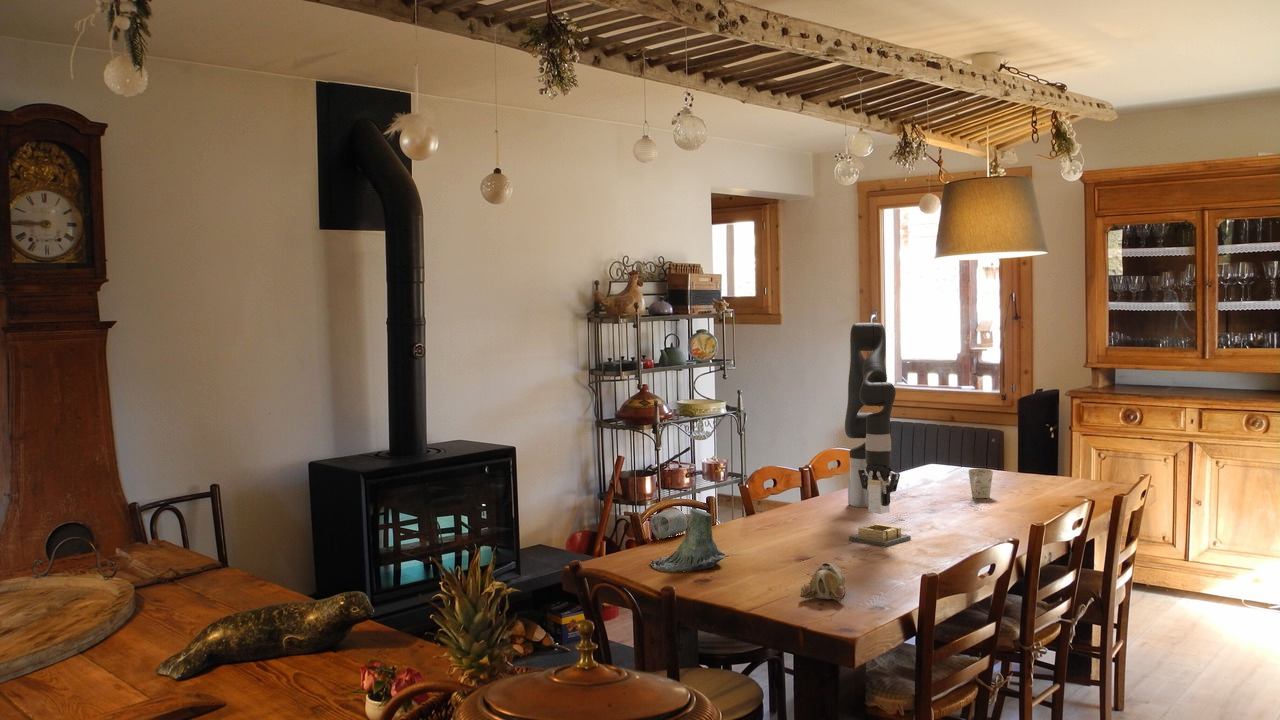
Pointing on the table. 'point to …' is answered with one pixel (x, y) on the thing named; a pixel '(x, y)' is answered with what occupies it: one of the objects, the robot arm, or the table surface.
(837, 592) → the ceramic sculpture
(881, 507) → the white upright block
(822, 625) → the table surface
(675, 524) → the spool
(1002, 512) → the table surface
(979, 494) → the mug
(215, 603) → the table surface
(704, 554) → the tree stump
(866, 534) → the fitting socket
